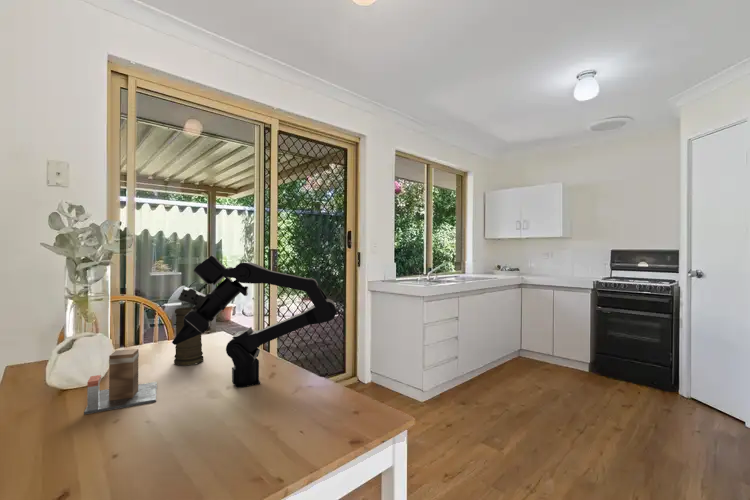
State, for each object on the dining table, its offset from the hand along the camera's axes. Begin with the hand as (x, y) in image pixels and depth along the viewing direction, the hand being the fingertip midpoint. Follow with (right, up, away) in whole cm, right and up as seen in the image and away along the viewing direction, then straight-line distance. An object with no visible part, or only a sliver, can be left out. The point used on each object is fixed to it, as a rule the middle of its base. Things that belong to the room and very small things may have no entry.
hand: (176, 339), depth 97 cm
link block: (-10, -13, -5) cm, 17 cm away
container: (-9, -14, +24) cm, 30 cm away
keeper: (-10, -13, -5) cm, 18 cm away
